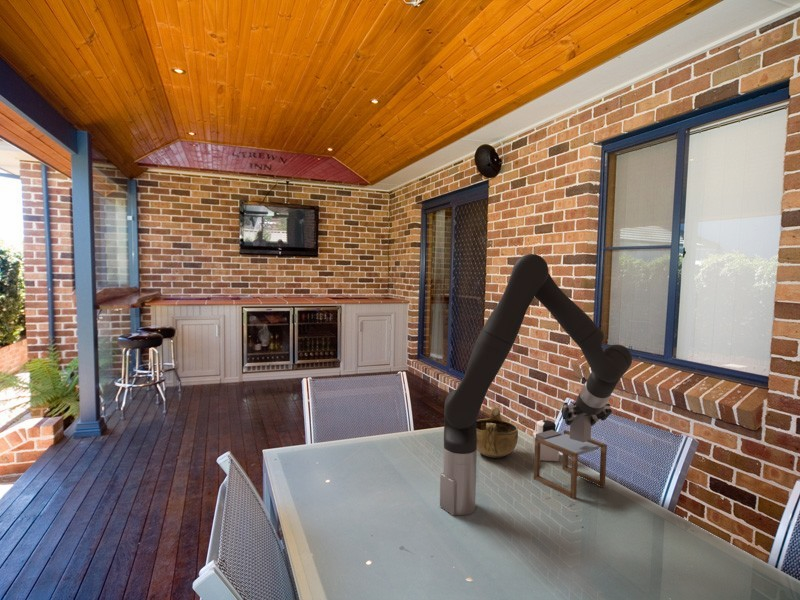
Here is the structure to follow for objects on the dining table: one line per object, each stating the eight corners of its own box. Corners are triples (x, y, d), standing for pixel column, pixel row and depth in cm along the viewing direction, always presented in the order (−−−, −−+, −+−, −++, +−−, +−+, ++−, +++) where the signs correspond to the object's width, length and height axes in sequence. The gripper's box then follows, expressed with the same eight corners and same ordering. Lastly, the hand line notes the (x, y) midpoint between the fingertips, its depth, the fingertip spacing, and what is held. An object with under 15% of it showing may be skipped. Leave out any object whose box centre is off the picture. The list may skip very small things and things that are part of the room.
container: (553, 453, 168) (554, 418, 167) (558, 461, 160) (559, 425, 160) (532, 452, 169) (533, 417, 168) (536, 460, 161) (537, 424, 160)
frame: (573, 499, 134) (575, 454, 133) (533, 478, 147) (535, 438, 146) (605, 486, 142) (606, 444, 141) (564, 468, 155) (566, 430, 154)
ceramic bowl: (474, 441, 179) (475, 403, 178) (518, 446, 174) (519, 408, 173) (465, 463, 158) (466, 421, 157) (516, 470, 153) (517, 426, 152)
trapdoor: (573, 457, 135) (573, 452, 135) (531, 439, 149) (531, 435, 149) (599, 449, 142) (599, 444, 141) (556, 433, 156) (556, 428, 155)
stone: (583, 442, 137) (584, 410, 136) (569, 438, 140) (570, 406, 140) (590, 439, 140) (591, 407, 139) (576, 435, 143) (577, 404, 143)
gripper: (616, 385, 131) (599, 413, 144) (566, 383, 132) (553, 411, 144) (623, 408, 126) (605, 435, 139) (571, 406, 127) (557, 433, 139)
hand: (578, 423), depth 141 cm, fingers closed on stone, 6 cm apart
